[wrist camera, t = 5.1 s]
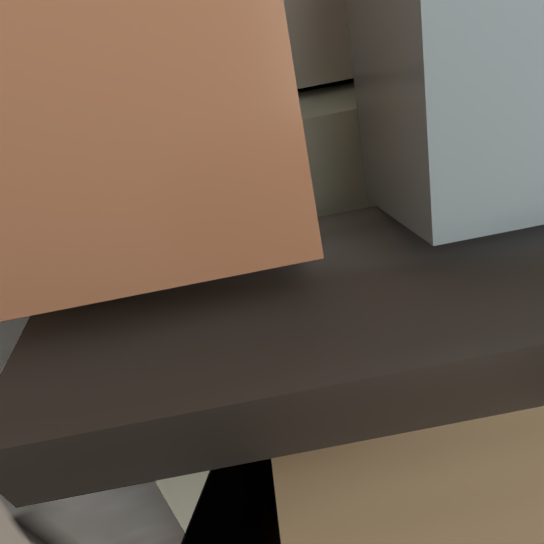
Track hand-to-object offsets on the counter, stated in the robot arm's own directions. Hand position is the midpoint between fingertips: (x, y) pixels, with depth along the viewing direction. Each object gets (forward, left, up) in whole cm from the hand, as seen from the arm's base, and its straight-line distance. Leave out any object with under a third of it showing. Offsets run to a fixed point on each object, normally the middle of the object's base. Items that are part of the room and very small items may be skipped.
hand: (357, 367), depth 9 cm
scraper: (-1, 0, -1) cm, 1 cm away
